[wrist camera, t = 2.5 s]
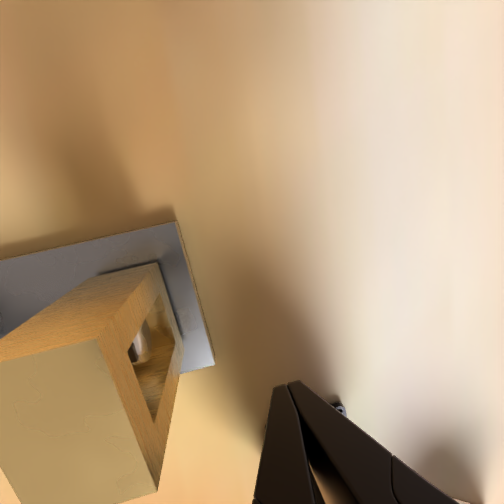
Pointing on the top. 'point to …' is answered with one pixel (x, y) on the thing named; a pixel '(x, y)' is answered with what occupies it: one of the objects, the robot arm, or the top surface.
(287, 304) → the top surface
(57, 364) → the tan notched block
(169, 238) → the shaft stand
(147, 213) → the top surface
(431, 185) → the top surface
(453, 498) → the jar
